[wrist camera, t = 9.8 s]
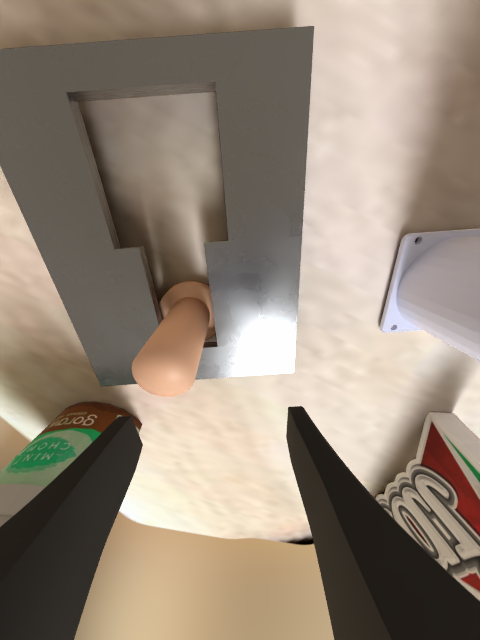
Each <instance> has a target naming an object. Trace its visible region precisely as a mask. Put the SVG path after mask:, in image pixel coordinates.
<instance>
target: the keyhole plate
mask: <svg viewBox="0 0 480 640" xmlns="http://www.w3.org/2000/svg"><path fill="white" fill-rule="evenodd" d="M313 35H314V26H308V27H294V28H280V29H267V30H253V31H239V32H226V33H212V34H198V35H185V36H171V37H158V38H144V39H130V40H117V41H103V42H89V43H76V44H62V45H49V46H35V47H21V48H8V49H0V166H1V168H2V170H3V172H4V175H5V177H6V179H7V181H8V183H9V186H10V188H11V190H12V192H13V194H14V197H15V199H16V201H17V203H18V205H19V207H20V210H21V212H22V214H23V216H24V218H25V221H26V223H27V225H28V227H29V229H30V232H31V234H32V236H33V238H34V240H35V242H36V245H37V247H38V249H39V251H40V253H41V256H42V258H43V260H44V262H45V264H46V267H47V269H48V271H49V273H50V275H51V278H52V280H53V282H54V284H55V286H56V288H57V291H58V293H59V295H60V297H61V299H62V302H63V304H64V306H65V308H66V310H67V313H68V315H69V317H70V319H71V321H72V323H73V326H74V328H75V330H76V332H77V334H78V337H79V339H80V341H81V343H82V345H83V348H84V350H85V352H86V354H87V356H88V359H89V361H90V363H91V365H92V367H93V369H94V372H95V374H96V376H97V378H98V380H99V383H100V385H101V386H113V385H127V384H138V383H137V382H136V381H135V379H134V377H133V374H132V363H133V361H134V359H135V357H136V356H137V355H138V353H139V352H140V350H141V349H142V348H143V346H144V345H145V344H146V342H147V341H148V340H149V338H150V337H151V336H152V334H153V333H154V331H155V330H156V329H157V327H158V326H159V325H160V323H161V322H162V317H161V313H160V309H159V305H158V301H157V297H156V293H155V289H154V285H153V281H152V277H151V273H150V269H149V265H148V261H147V257H146V253H145V249H144V246H142V247H128V248H121V247H120V243H119V240H118V237H117V233H116V230H115V227H114V223H113V220H112V216H111V213H110V210H109V206H108V203H107V199H106V196H105V193H104V189H103V186H102V182H101V179H100V176H99V172H98V169H97V165H96V162H95V159H94V155H93V152H92V149H91V145H90V142H89V138H88V135H87V132H86V128H85V125H84V121H83V118H82V115H81V111H80V108H79V104H78V102H80V101H93V100H107V99H121V98H134V97H148V96H162V95H175V94H189V93H203V92H216V97H217V109H218V121H219V133H220V145H221V157H222V169H223V181H224V193H225V205H226V217H227V229H228V240H225V241H211V242H205V243H204V247H205V254H206V262H207V269H208V277H209V285H210V292H211V300H212V308H213V315H214V323H215V331H216V338H217V342H206V343H204V345H203V349H202V353H201V357H200V361H199V365H198V369H197V373H196V377H195V380H197V379H211V378H225V377H239V376H254V375H268V374H282V373H294V365H295V348H296V330H297V313H298V296H299V278H300V261H301V244H302V226H303V209H304V191H305V174H306V157H307V139H308V122H309V105H310V87H311V70H312V53H313Z"/></svg>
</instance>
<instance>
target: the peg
mask: <svg viewBox="0 0 480 640" xmlns="http://www.w3.org/2000/svg"><path fill="white" fill-rule="evenodd" d="M159 309H160V313H161V317H162V322H161V323H160V325H159V326H158V327H157V329H156V330H155V331H154V333H153V334H152V336H151V337H150V338H149V340H148V341H147V342H146V344H145V345H144V346H143V348H142V349H141V350H140V352H139V353H138V355H137V356H136V357H135V359H134V361H133V363H132V374H133V377H134V379H135V381H136V382H137V383H138V385H139V386H140V387H142V388H143V389H144V390H146V391H147V392H149V393H152V394H154V395H157V396H163V397H172V396H177V395H180V394H183V393H185V392H186V391H188V390H189V389H190V388H191V387H192V385H193V383H194V381H195V377H196V373H197V369H198V365H199V361H200V357H201V353H202V349H203V345H204V341H205V340H207V339H209V338H211V337H212V336H214V335H215V334H216V331H215V323H214V315H213V308H212V300H211V292H210V287H209V286H208V285H206V284H204V283H201V282H197V281H184V282H181V283H178V284H176V285H174V286H173V287H172V288H170V289H169V290H168V292H167V293H166V294H165V295H164V296H163V297H162V299H161V302H160V305H159Z"/></svg>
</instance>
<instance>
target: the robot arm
mask: <svg viewBox="0 0 480 640" xmlns="http://www.w3.org/2000/svg"><path fill="white" fill-rule="evenodd" d="M417 237H418V241H417V242H416V243H415V240H416V238H417ZM393 325H394V326H393ZM392 326H393V327H392ZM391 327H392V328H391ZM380 330H381V331H383V332H384V333H390V332H404V331H418V330H424V331H426V332H427V333H429V334H431V335H433V336H435V337H436V338H438V339H440V340H442V341H444V342H445V343H447V344H449V345H451V346H452V347H454V348H456V349H458V350H460V351H461V352H463V353H465V354H467V355H469V356H470V357H472V358H474V359H476V360H478V361H479V362H480V228H476V229H462V230H448V231H434V232H420V233H409V234H406V235H405V236H404V237H403V238H402V240H401V244H400V248H399V252H398V256H397V260H396V264H395V268H394V272H393V276H392V280H391V284H390V288H389V292H388V296H387V300H386V304H385V308H384V312H383V316H382V320H381V324H380ZM286 437H287V443H288V448H289V453H290V458H291V463H292V466H293V470H294V473H295V477H296V480H297V484H298V487H299V491H300V494H301V498H302V501H303V504H304V508H305V511H306V515H307V518H308V522H309V525H310V529H311V533H312V536H313V540H314V545H315V549H316V553H317V558H318V563H319V567H320V572H321V577H322V581H323V586H324V591H325V595H326V600H327V605H328V609H329V615H330V619H331V625H332V629H333V634H334V639H335V640H480V601H479V600H478V599H477V598H476V597H475V596H474V595H473V594H472V593H470V592H469V591H468V590H467V589H466V588H465V587H464V586H463V585H462V584H461V583H460V582H458V581H457V580H456V579H455V578H454V577H453V576H452V575H451V574H450V573H449V572H448V571H447V570H446V569H445V568H443V567H442V566H441V565H440V564H439V563H438V562H437V561H436V560H435V559H434V558H433V557H432V556H431V555H430V554H429V553H428V552H427V551H426V550H425V549H424V548H423V547H422V546H421V545H420V544H419V543H418V542H417V541H415V540H414V539H413V538H412V537H411V536H410V535H409V534H408V533H407V532H406V531H405V530H404V529H403V528H402V527H401V526H400V525H399V524H398V523H397V521H396V520H395V519H394V518H393V517H392V516H391V515H390V514H389V513H388V512H387V511H386V510H385V509H384V508H383V507H382V506H381V505H380V504H379V503H378V501H377V500H376V499H375V498H374V497H373V496H372V495H371V494H370V493H369V492H368V491H367V489H366V488H365V487H364V486H363V485H362V484H361V483H360V481H359V480H358V479H357V478H356V477H355V476H354V474H353V473H352V472H351V471H350V470H349V468H348V467H347V466H346V465H345V464H344V462H343V461H342V460H341V459H340V457H339V456H338V455H337V454H336V452H335V451H334V450H333V448H332V447H331V446H330V445H329V443H328V442H327V441H326V439H325V438H324V437H323V435H322V434H321V433H320V431H319V430H318V428H317V427H316V426H315V424H314V423H313V421H312V420H311V418H310V417H309V415H308V414H307V412H306V411H305V409H304V408H303V407H302V406H299V407H288V421H287V435H286ZM142 446H143V444H142V442H141V439H140V437H139V434H138V431H137V429H136V426H135V424H134V421H133V419H132V416H119V417H117V418H116V419H115V420H114V421H113V422H112V423H111V424H110V425H109V426H108V427H107V428H106V429H105V430H104V431H103V432H102V433H101V434H100V435H99V436H98V437H97V438H96V439H95V440H94V441H93V442H92V443H91V444H90V445H89V446H88V447H87V448H86V449H85V450H84V451H83V452H82V453H81V454H80V455H79V456H78V457H77V458H76V459H75V460H74V461H73V462H72V463H71V464H70V465H69V466H68V467H67V468H66V469H65V470H63V471H62V472H61V473H60V474H59V475H58V476H57V477H56V478H55V479H54V480H53V481H52V482H51V483H49V484H48V485H47V486H46V487H45V488H44V489H43V490H42V491H41V492H40V493H39V494H38V495H37V496H35V497H34V498H33V499H32V500H31V501H30V502H29V503H28V504H26V505H25V506H24V507H23V508H22V509H21V510H20V511H18V512H17V513H16V514H15V515H14V516H13V517H11V518H10V519H9V520H8V521H7V522H5V523H4V524H3V525H2V526H1V527H0V640H74V638H75V634H76V631H77V628H78V624H79V621H80V618H81V615H82V612H83V609H84V606H85V602H86V599H87V596H88V593H89V590H90V587H91V584H92V581H93V578H94V574H95V572H96V569H97V566H98V563H99V560H100V557H101V554H102V551H103V548H104V546H105V543H106V541H107V538H108V535H109V533H110V530H111V528H112V526H113V523H114V521H115V519H116V516H117V514H118V511H119V509H120V507H121V504H122V502H123V499H124V497H125V495H126V492H127V490H128V487H129V485H130V482H131V480H132V477H133V475H134V472H135V470H136V466H137V463H138V460H139V456H140V453H141V449H142Z"/></svg>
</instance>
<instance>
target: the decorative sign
mask: <svg viewBox="0 0 480 640" xmlns="http://www.w3.org/2000/svg"><path fill="white" fill-rule="evenodd" d="M375 499H376V500H377V501H378V503H379V504H380V505H381V506H382V507H383V508H384V509H385V510H386V511H387V512H388V513H389V514H390V515H391V516H392V517H393V518H394V519H395V520H396V521H397V523H398V524H399V525H400V526H401V527H402V528H403V529H404V530H405V531H406V532H407V533H408V534H409V535H410V536H411V537H412V538H413V539H414V540H415V541H417V542H418V543H419V544H420V545H421V546H422V547H423V548H424V549H425V550H426V551H427V552H428V553H429V554H430V555H431V556H432V557H433V558H434V559H435V560H436V561H437V562H438V563H439V564H440V565H441V566H442V567H443V568H445V569H446V570H447V571H448V572H449V573H450V574H451V575H452V576H453V577H454V578H455V579H456V580H457V581H458V582H460V583H461V584H462V585H463V586H464V587H465V588H466V589H467V590H468V591H469V592H470V593H472V594H473V595H474V596H475V597H476V598H477V599H479V600H480V439H479V438H478V437H477V436H476V435H475V434H474V433H473V432H472V431H471V430H470V429H469V428H468V427H467V426H466V425H465V424H464V423H463V422H462V421H461V420H460V419H459V418H458V417H457V416H456V415H455V414H454V413H439V412H429V413H428V415H427V417H426V418H425V422H424V426H423V431H422V435H421V439H420V443H419V447H418V451H417V455H416V459H413V460H411V461H410V462H409V463H408V465H407V468H406V472H401V473H399V474H397V476H396V477H395V481H394V482H391V483H389V484H388V485H387V486H386V489H385V493H384V494H379V495H377V496H376V498H375Z"/></svg>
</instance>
